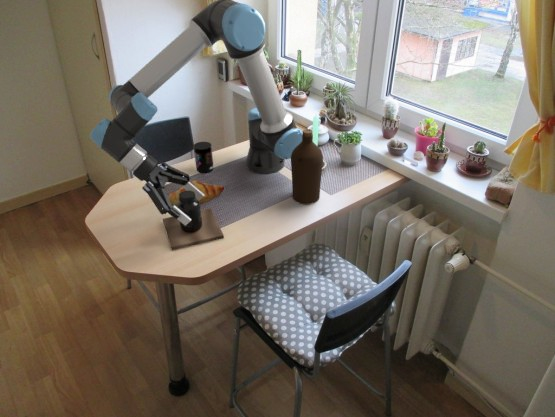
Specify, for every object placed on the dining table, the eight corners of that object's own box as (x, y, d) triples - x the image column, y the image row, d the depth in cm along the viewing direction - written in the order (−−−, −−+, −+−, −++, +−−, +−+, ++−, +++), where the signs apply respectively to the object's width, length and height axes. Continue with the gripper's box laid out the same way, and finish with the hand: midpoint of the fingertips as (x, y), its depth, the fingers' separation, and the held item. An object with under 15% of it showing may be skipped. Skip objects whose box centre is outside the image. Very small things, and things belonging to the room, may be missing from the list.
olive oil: (322, 205, 155) (326, 137, 141) (291, 206, 155) (291, 138, 141) (319, 189, 164) (322, 123, 150) (290, 189, 164) (290, 124, 150)
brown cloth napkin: (211, 211, 153) (210, 208, 152) (223, 238, 141) (223, 235, 140) (162, 221, 148) (162, 218, 148) (171, 250, 136) (171, 247, 135)
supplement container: (201, 164, 181) (198, 140, 175) (216, 167, 179) (214, 142, 173) (193, 172, 175) (190, 148, 170) (209, 175, 174) (206, 150, 168)
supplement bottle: (207, 227, 144) (202, 194, 137) (188, 236, 140) (183, 203, 133) (194, 218, 148) (190, 186, 141) (176, 226, 144) (170, 194, 137)
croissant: (167, 217, 157) (165, 206, 150) (161, 193, 161) (159, 180, 154) (227, 204, 162) (228, 192, 156) (219, 181, 167) (220, 168, 160)
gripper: (149, 151, 146) (199, 195, 152) (114, 192, 125) (174, 240, 132) (162, 137, 142) (213, 182, 148) (128, 177, 122) (190, 227, 128)
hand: (195, 209), depth 140 cm, fingers open, 13 cm apart
